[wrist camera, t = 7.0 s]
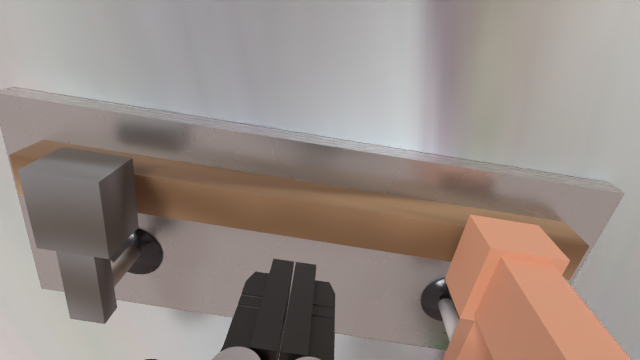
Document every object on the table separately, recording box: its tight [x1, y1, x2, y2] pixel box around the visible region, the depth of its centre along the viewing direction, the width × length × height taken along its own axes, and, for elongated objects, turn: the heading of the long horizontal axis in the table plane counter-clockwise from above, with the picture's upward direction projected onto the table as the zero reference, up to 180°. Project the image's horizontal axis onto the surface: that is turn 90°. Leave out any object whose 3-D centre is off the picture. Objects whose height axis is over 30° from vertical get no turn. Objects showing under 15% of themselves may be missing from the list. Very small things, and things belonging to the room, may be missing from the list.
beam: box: [9, 140, 589, 324], centre depth 17 cm, size 8×26×4 cm, turn 82°
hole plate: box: [0, 87, 625, 350], centre depth 20 cm, size 12×30×1 cm, turn 82°
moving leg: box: [438, 214, 631, 360], centre depth 15 cm, size 8×3×9 cm, turn 172°
